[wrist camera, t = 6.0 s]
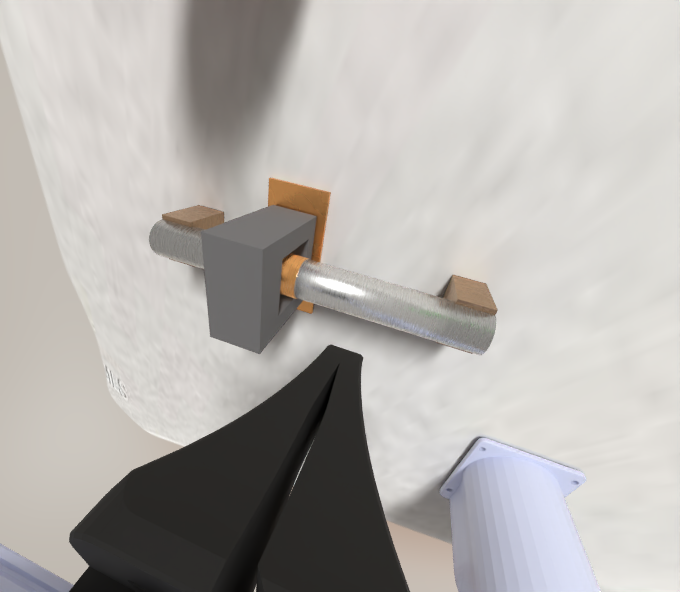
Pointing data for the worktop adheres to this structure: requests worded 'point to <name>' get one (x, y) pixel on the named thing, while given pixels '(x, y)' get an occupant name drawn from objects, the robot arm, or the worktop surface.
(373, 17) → the worktop surface
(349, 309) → the rail
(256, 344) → the collar
